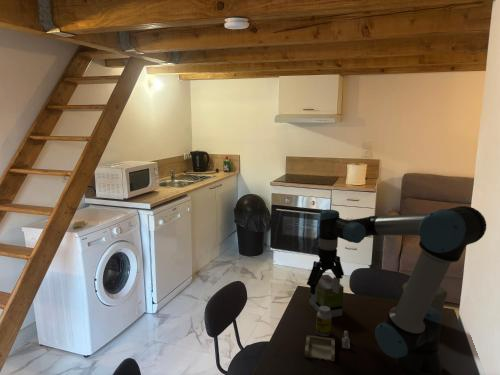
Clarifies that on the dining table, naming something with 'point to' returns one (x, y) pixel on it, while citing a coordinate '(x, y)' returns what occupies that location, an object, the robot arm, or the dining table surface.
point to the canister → (437, 298)
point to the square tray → (320, 348)
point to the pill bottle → (323, 321)
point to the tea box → (328, 296)
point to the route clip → (346, 341)
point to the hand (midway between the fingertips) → (325, 296)
